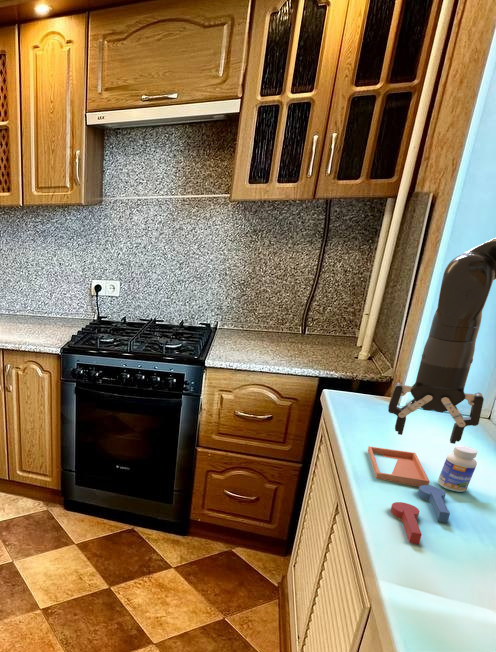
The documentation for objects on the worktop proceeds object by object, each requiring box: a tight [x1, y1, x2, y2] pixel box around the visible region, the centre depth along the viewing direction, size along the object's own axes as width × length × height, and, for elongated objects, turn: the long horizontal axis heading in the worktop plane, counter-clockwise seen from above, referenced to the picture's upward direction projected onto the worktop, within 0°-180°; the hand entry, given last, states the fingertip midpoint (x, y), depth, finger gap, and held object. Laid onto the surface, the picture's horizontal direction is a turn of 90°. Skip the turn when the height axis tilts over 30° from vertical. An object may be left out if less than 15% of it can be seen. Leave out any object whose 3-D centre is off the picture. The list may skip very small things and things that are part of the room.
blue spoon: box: [417, 484, 451, 524], centre depth 114 cm, size 13×5×2 cm, turn 154°
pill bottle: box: [437, 445, 478, 493], centre depth 121 cm, size 5×5×10 cm
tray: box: [367, 445, 430, 488], centre depth 130 cm, size 16×10×2 cm, turn 154°
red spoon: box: [389, 501, 423, 545], centre depth 108 cm, size 13×5×2 cm, turn 154°
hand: (425, 437), depth 106 cm, fingers open, 8 cm apart
